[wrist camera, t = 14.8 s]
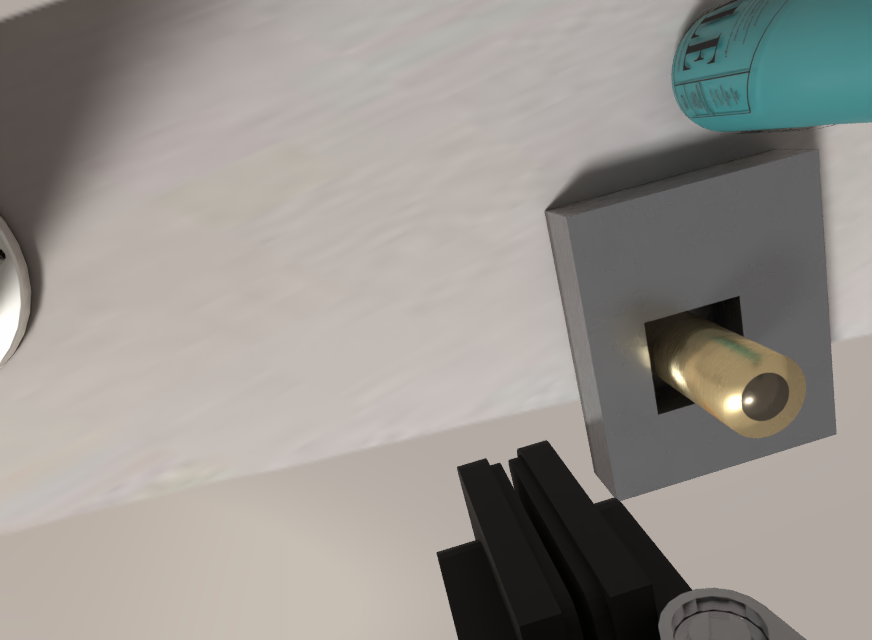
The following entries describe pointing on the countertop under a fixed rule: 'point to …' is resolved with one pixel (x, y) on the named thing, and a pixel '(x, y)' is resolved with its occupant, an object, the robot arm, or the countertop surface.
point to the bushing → (726, 373)
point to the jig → (693, 308)
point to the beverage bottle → (777, 65)
